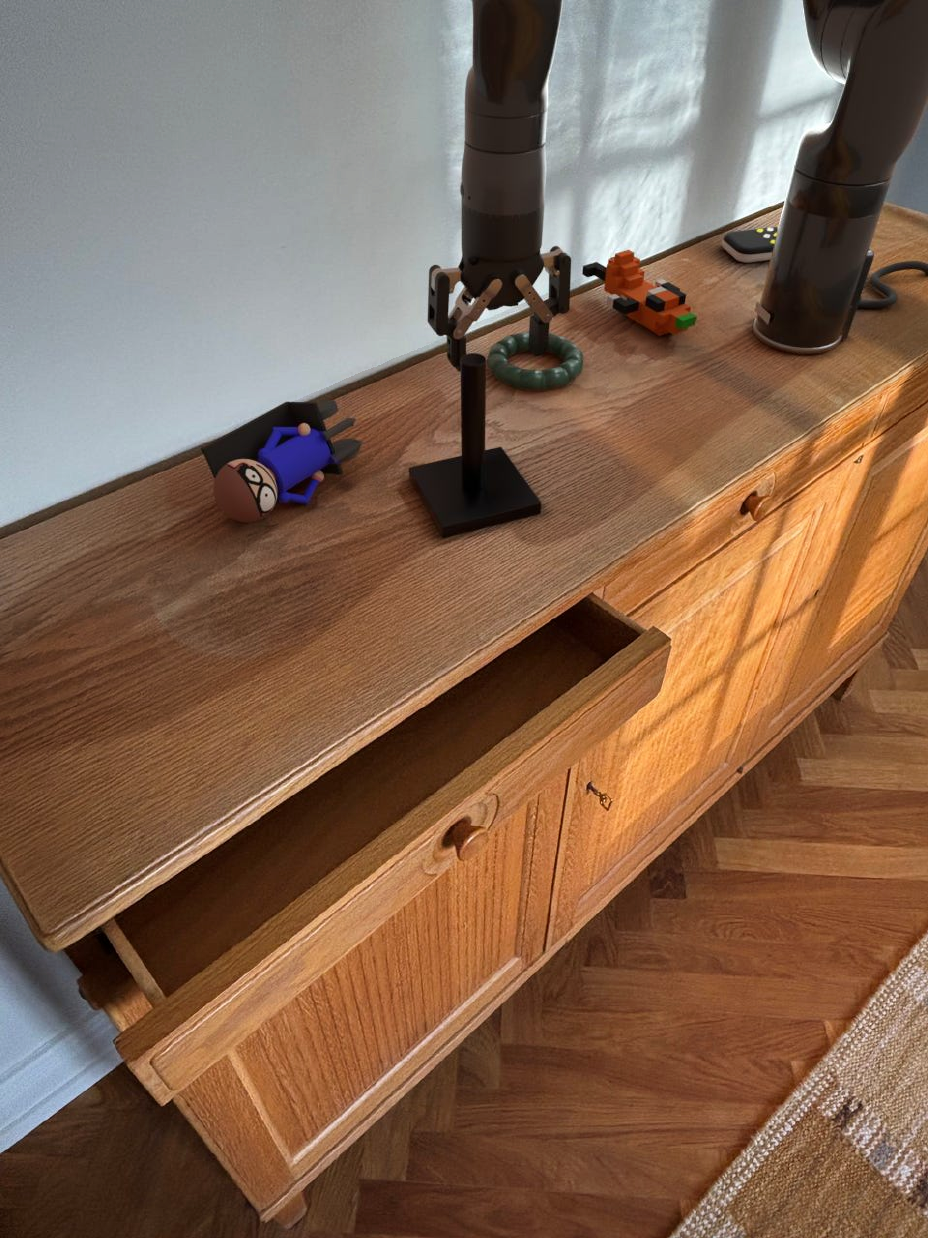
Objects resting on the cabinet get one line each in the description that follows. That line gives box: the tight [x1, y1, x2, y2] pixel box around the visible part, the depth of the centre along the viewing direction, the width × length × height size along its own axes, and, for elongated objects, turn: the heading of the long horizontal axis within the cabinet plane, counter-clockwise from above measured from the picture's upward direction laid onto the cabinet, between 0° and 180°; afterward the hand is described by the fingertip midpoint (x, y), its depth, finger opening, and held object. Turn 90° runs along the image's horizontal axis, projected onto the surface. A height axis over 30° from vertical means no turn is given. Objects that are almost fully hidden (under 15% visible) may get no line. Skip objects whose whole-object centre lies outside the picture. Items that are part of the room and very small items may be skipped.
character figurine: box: [200, 399, 364, 523], centre depth 74 cm, size 8×7×15 cm
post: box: [408, 352, 542, 539], centre depth 72 cm, size 9×9×13 cm
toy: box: [581, 249, 697, 337], centre depth 98 cm, size 8×6×15 cm
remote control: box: [721, 225, 779, 264], centre depth 112 cm, size 6×13×2 cm, turn 104°
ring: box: [486, 330, 585, 392], centre depth 91 cm, size 10×10×2 cm
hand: (497, 360), depth 89 cm, fingers open, 8 cm apart
